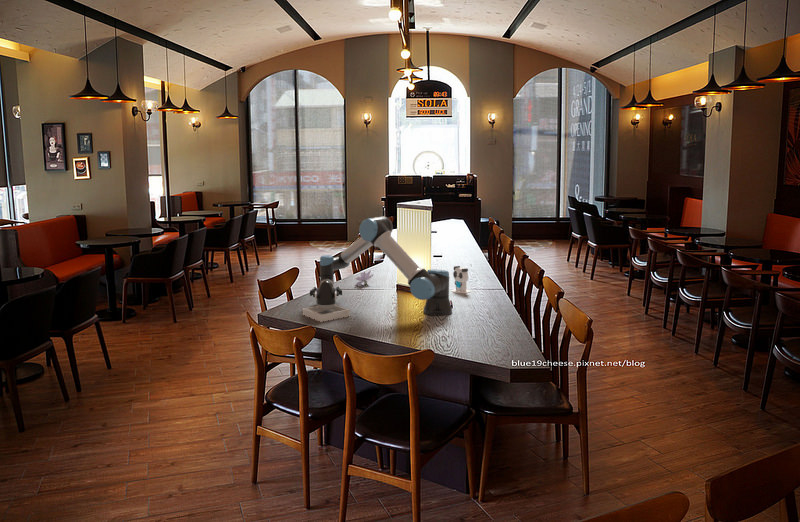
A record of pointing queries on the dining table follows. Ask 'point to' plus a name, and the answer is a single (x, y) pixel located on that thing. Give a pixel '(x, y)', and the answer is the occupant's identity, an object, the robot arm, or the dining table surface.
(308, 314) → the tray
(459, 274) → the panda figurine
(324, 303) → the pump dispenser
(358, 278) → the water lily
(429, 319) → the dining table surface
